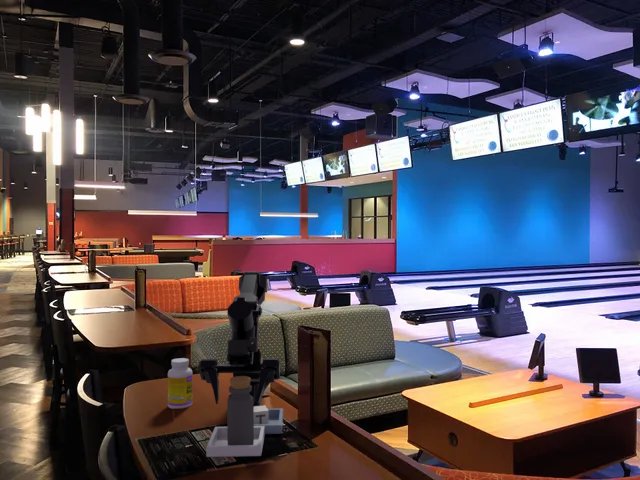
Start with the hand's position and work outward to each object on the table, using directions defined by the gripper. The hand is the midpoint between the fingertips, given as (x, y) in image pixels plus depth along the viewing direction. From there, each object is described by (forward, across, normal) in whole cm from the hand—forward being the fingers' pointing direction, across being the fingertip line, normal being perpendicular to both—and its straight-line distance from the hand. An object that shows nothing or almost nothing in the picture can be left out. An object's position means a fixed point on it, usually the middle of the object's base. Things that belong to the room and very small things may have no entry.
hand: (237, 403), depth 118 cm
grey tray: (+8, 0, +6) cm, 10 cm away
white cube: (-1, +4, +15) cm, 15 cm away
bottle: (+7, +1, +6) cm, 10 cm away
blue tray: (-1, +4, +15) cm, 16 cm away
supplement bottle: (-12, -19, +27) cm, 35 cm away
